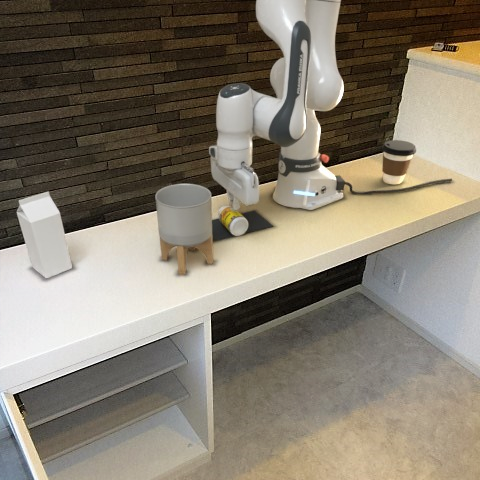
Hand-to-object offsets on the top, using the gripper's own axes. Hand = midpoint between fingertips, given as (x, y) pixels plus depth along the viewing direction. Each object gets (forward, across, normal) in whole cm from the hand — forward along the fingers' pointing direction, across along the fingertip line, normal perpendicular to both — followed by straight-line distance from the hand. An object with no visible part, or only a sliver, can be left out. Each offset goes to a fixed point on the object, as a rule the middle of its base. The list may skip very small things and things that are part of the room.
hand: (234, 207), depth 133 cm
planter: (+8, -7, +17) cm, 20 cm away
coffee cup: (+8, +9, -65) cm, 66 cm away
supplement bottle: (+5, -2, 0) cm, 6 cm away
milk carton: (+8, +5, +48) cm, 49 cm away
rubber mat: (+8, +4, -2) cm, 9 cm away
